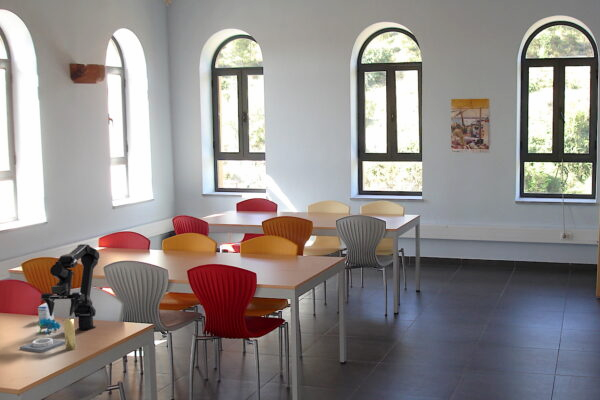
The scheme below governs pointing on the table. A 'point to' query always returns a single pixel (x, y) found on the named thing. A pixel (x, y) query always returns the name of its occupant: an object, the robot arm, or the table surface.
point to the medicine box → (44, 312)
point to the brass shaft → (69, 334)
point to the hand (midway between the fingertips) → (60, 315)
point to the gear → (48, 325)
